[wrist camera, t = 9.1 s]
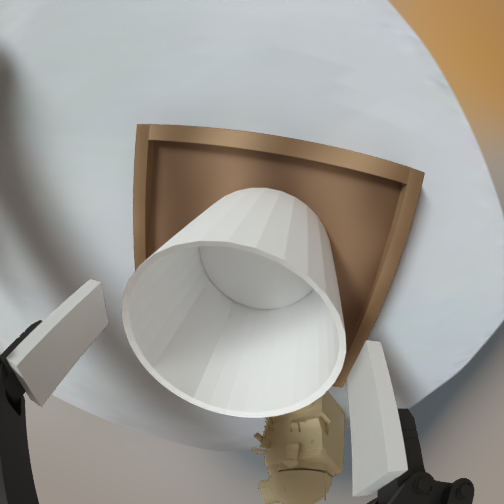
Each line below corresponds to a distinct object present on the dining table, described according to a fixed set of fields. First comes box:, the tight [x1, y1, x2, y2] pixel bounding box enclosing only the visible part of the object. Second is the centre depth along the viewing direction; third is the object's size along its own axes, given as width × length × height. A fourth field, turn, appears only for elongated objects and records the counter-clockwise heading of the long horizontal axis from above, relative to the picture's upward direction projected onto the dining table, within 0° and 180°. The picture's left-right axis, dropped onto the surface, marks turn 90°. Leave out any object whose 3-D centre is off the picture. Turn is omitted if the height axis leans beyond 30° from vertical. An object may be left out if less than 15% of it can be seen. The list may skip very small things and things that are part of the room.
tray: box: [133, 124, 425, 387], centre depth 20 cm, size 18×18×2 cm
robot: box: [252, 390, 344, 504], centre depth 19 cm, size 10×8×15 cm
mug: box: [122, 188, 346, 418], centre depth 15 cm, size 12×9×9 cm
